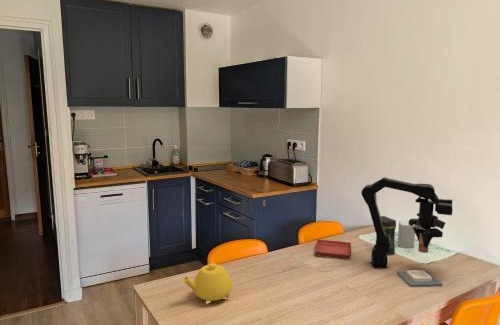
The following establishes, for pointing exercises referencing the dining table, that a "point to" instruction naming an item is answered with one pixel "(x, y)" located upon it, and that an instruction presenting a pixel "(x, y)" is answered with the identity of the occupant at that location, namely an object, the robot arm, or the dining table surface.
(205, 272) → the teapot
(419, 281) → the board
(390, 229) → the coffee jar
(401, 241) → the supplement box
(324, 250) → the plant saucer
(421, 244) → the terracotta pin
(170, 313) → the dining table surface
